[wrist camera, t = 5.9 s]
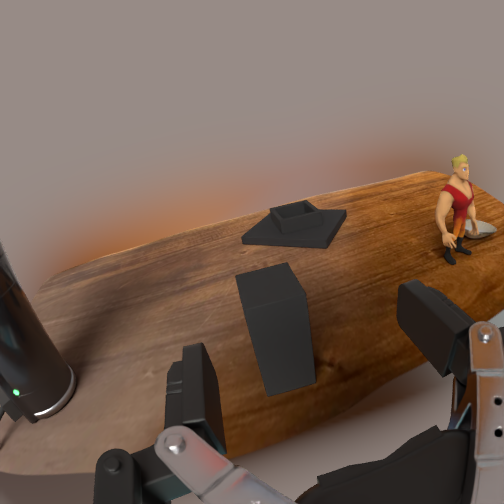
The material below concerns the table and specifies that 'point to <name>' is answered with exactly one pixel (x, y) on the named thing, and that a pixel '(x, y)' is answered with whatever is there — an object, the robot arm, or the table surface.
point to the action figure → (456, 207)
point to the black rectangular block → (278, 327)
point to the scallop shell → (479, 229)
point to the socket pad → (297, 237)
